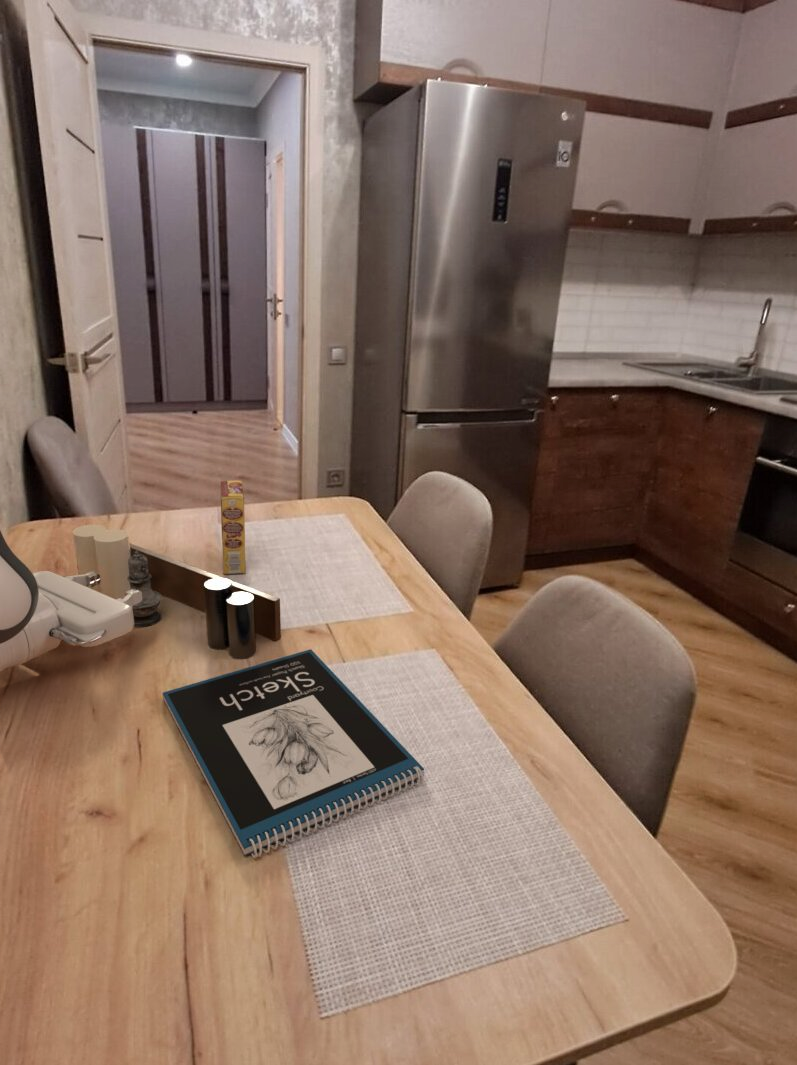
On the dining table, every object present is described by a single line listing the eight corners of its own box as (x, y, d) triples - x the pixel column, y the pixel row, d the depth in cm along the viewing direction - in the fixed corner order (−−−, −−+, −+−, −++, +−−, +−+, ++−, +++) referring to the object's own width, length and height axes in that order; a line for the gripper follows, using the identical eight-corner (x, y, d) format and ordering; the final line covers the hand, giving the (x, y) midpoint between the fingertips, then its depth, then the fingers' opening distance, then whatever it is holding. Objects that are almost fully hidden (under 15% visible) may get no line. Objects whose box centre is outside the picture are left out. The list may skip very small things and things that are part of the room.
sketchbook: (310, 656, 99) (310, 644, 98) (428, 785, 76) (429, 770, 75) (162, 700, 88) (161, 686, 87) (248, 866, 65) (247, 850, 64)
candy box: (247, 574, 122) (244, 495, 116) (223, 575, 121) (218, 496, 115) (245, 553, 130) (242, 479, 124) (222, 555, 129) (218, 480, 123)
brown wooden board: (113, 575, 119) (108, 539, 117) (118, 572, 120) (114, 537, 118) (276, 641, 102) (274, 601, 99) (281, 638, 103) (280, 598, 100)
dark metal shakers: (202, 644, 100) (197, 585, 96) (221, 632, 103) (217, 575, 100) (243, 662, 96) (240, 601, 93) (262, 649, 100) (259, 590, 96)
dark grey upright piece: (132, 632, 102) (123, 561, 98) (119, 616, 106) (110, 547, 102) (169, 621, 106) (162, 552, 101) (155, 606, 110) (148, 539, 105)
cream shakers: (74, 590, 113) (64, 528, 109) (101, 579, 118) (92, 519, 113) (116, 609, 108) (107, 544, 104) (142, 596, 113) (135, 534, 108)
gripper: (75, 626, 83) (163, 585, 94) (-18, 582, 93) (72, 549, 104) (82, 669, 86) (167, 624, 97) (-9, 621, 95) (78, 585, 106)
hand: (117, 585), depth 100 cm, fingers open, 8 cm apart
